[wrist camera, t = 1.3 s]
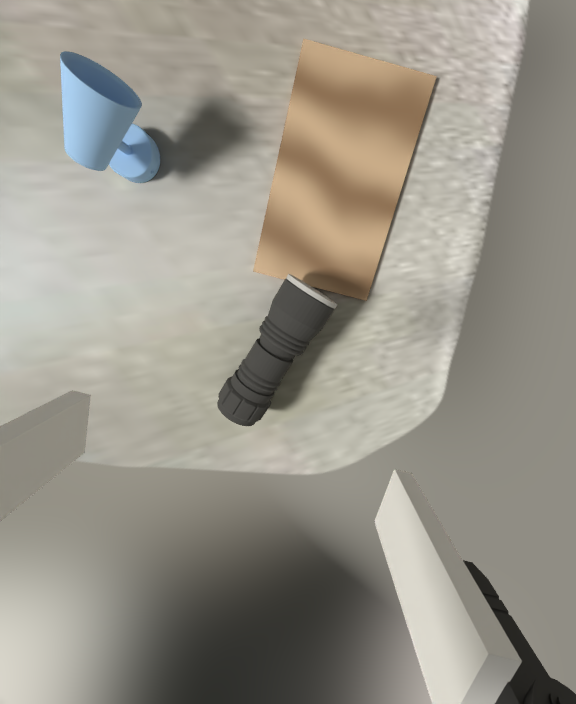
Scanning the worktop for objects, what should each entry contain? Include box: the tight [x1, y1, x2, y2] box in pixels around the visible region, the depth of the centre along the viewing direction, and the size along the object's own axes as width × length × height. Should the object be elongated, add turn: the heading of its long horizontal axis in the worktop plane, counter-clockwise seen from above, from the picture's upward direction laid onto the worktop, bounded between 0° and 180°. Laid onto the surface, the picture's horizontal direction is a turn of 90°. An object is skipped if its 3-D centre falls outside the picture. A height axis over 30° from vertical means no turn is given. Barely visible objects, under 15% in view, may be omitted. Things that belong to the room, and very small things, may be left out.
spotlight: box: [60, 52, 160, 183], centre depth 25 cm, size 5×10×7 cm
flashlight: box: [218, 274, 337, 426], centre depth 31 cm, size 15×5×5 cm, turn 149°
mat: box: [253, 39, 437, 301], centre depth 29 cm, size 20×12×1 cm, turn 166°
